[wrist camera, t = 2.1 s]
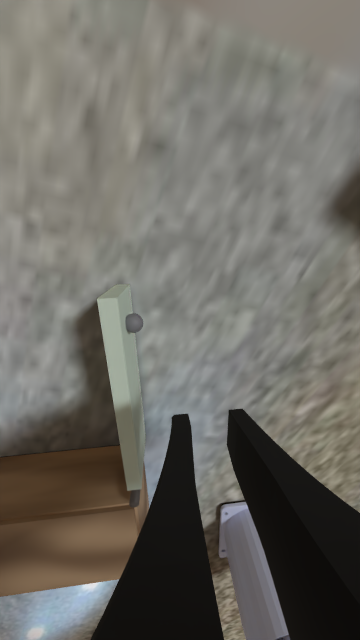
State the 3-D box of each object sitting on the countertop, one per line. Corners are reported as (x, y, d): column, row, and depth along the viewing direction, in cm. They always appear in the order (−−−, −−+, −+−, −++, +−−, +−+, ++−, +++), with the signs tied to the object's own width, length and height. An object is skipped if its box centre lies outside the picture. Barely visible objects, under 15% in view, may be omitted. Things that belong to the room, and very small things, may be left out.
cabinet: (152, 504, 23) (149, 581, 18) (4, 523, 22) (-46, 610, 17) (144, 433, 20) (138, 500, 14) (-30, 450, 19) (-105, 529, 13)
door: (156, 434, 19) (155, 487, 15) (134, 436, 19) (127, 490, 15) (143, 283, 15) (137, 297, 11) (115, 284, 15) (96, 298, 11)
